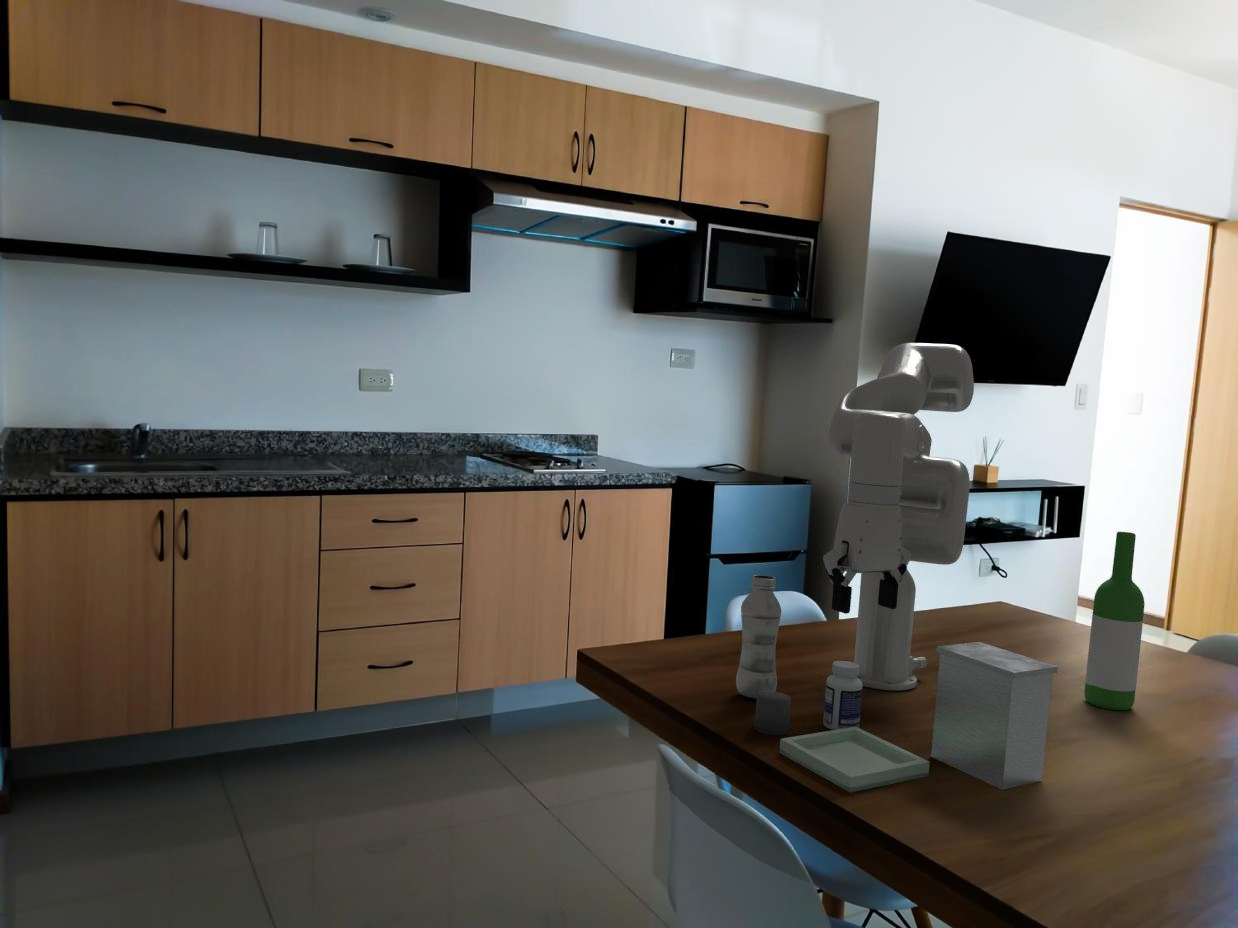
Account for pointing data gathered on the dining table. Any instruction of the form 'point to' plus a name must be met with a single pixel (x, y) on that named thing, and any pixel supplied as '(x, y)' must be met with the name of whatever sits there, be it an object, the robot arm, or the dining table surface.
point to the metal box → (992, 713)
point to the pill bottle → (843, 696)
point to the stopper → (772, 713)
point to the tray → (854, 758)
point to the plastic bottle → (759, 638)
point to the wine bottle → (1116, 633)
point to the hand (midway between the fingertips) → (864, 609)
